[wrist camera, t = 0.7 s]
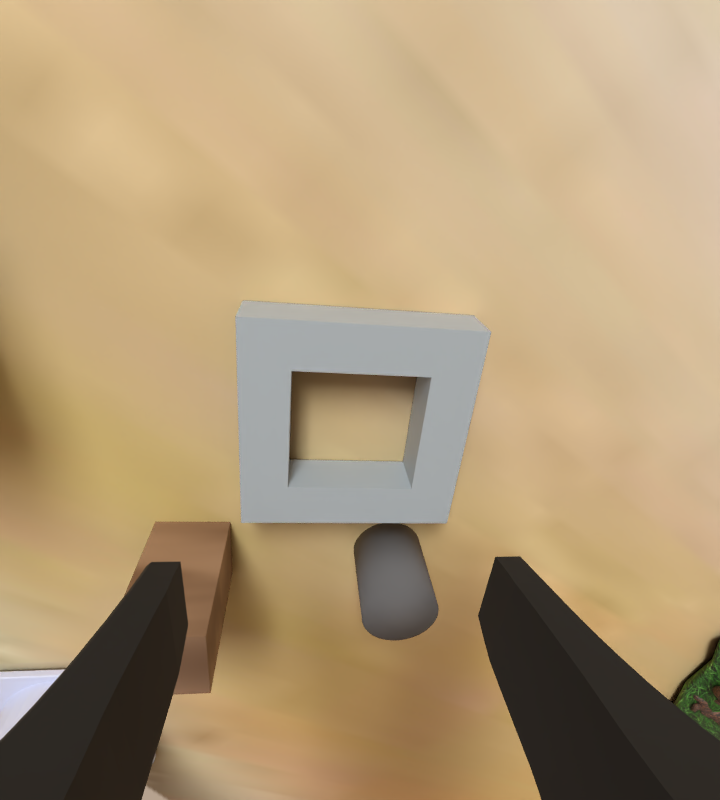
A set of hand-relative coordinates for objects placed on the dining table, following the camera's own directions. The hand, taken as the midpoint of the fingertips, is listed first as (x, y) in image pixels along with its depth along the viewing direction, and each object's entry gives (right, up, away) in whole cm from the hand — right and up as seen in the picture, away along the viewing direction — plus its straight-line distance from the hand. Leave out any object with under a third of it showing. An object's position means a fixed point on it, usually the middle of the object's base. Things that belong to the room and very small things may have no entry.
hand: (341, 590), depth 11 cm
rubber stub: (+2, -3, +13) cm, 14 cm away
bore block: (0, +4, +9) cm, 10 cm away
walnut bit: (-8, -3, +12) cm, 14 cm away
